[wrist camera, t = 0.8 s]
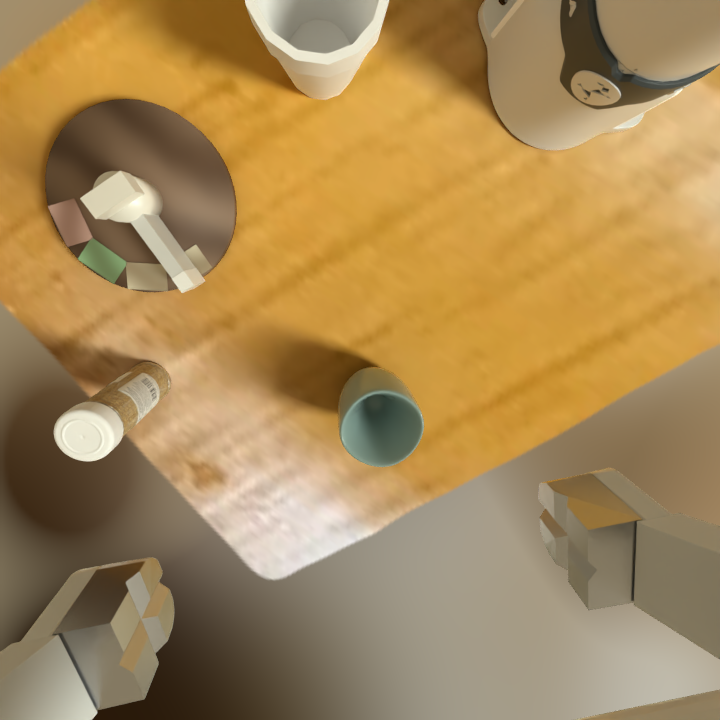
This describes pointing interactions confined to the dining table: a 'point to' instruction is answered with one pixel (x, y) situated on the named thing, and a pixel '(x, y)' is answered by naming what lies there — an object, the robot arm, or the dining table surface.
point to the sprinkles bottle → (111, 412)
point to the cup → (378, 418)
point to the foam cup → (318, 39)
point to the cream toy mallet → (142, 221)
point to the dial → (150, 162)
